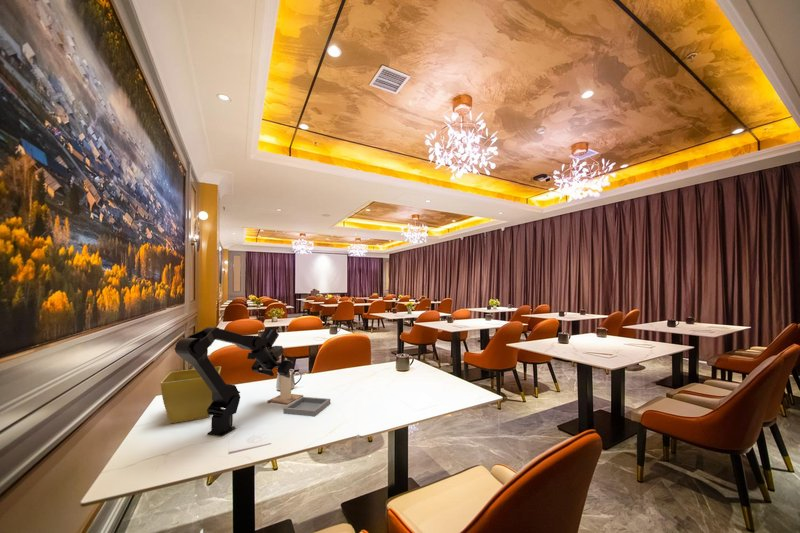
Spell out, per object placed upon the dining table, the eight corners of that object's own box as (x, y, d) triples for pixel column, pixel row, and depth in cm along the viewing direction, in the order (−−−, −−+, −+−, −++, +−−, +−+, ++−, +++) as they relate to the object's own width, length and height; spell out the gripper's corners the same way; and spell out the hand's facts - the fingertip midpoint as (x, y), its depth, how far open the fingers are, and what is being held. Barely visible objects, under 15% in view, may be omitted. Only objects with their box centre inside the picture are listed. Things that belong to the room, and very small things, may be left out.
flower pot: (168, 411, 130) (170, 371, 132) (220, 403, 139) (221, 365, 140) (157, 429, 113) (159, 383, 115) (217, 419, 122) (218, 375, 123)
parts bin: (314, 417, 122) (314, 411, 122) (283, 414, 125) (283, 408, 126) (330, 404, 136) (330, 398, 136) (302, 402, 139) (302, 396, 139)
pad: (287, 405, 135) (287, 403, 135) (267, 402, 139) (267, 400, 139) (303, 397, 145) (303, 395, 145) (284, 394, 149) (284, 392, 149)
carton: (290, 399, 141) (291, 373, 141) (280, 400, 139) (280, 374, 140) (291, 395, 145) (291, 371, 146) (280, 396, 144) (281, 372, 144)
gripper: (290, 341, 133) (306, 362, 142) (257, 339, 140) (274, 359, 149) (277, 364, 125) (294, 384, 134) (242, 361, 132) (261, 380, 141)
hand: (281, 376), depth 140 cm, fingers open, 9 cm apart
